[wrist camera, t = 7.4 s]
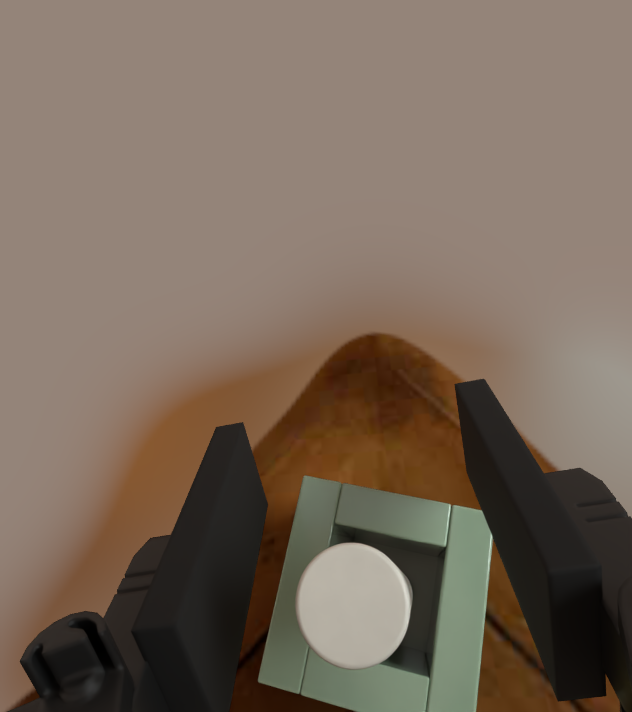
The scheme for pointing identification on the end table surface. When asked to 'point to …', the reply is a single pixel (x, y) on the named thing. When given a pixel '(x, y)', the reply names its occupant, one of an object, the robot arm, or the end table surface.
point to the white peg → (353, 606)
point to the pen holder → (429, 605)
